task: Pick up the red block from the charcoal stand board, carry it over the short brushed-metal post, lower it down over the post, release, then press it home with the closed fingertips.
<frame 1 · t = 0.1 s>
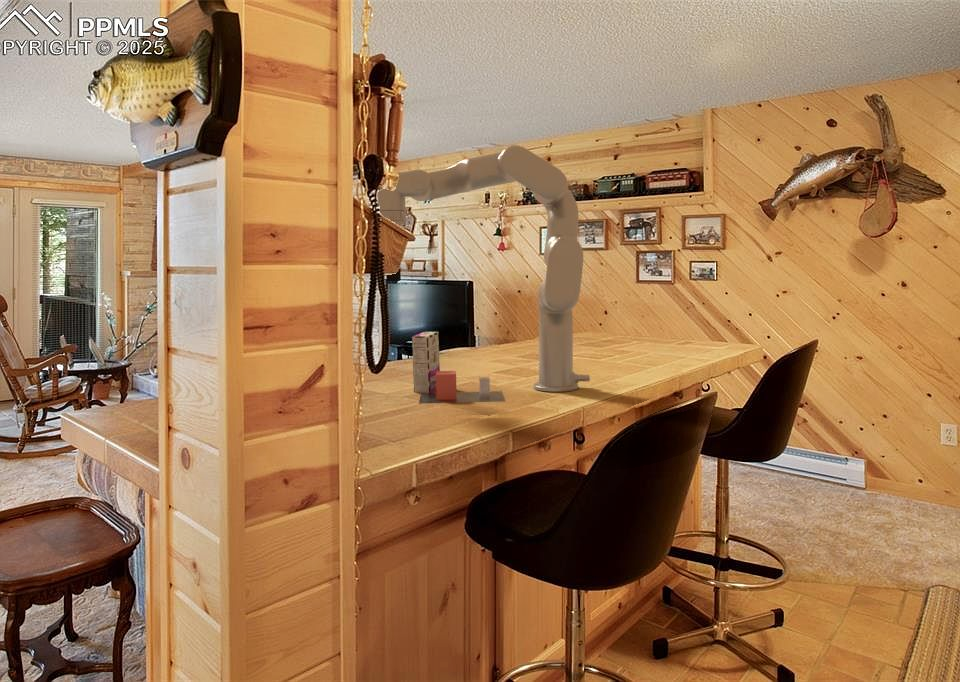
hand: (393, 281, 179), 31 cm above the countertop, fingers open, 9 cm apart
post: (484, 399, 171), on the countertop
candy bar box: (427, 392, 184), on the countertop
red block: (446, 397, 171), point 1 cm above the countertop, touching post
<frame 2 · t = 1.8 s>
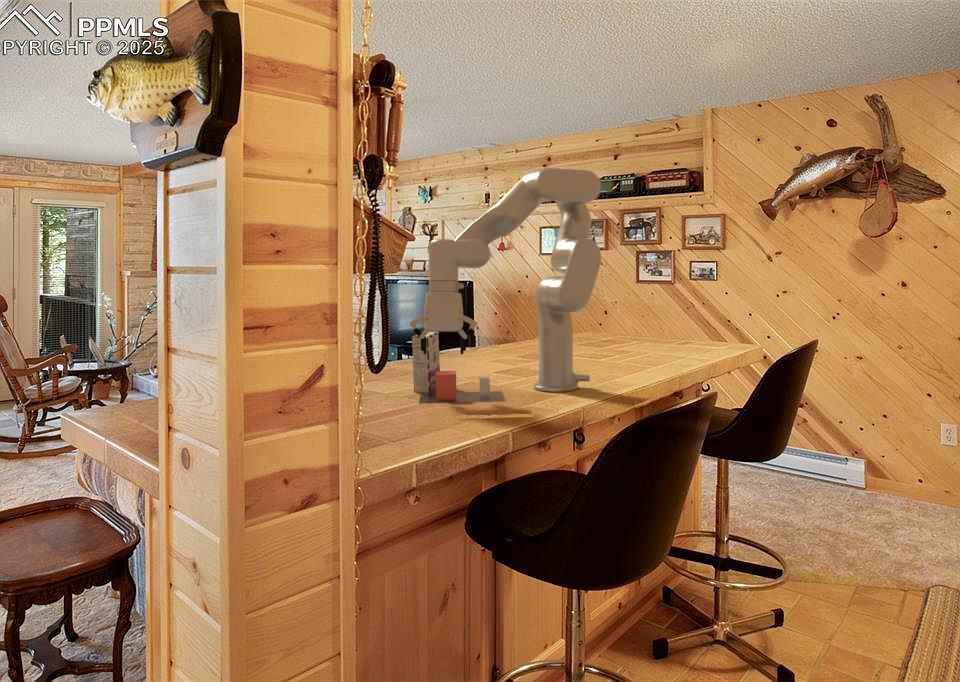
hand: (443, 353, 169), 12 cm above the countertop, fingers open, 9 cm apart
nothing on the countertop moved.
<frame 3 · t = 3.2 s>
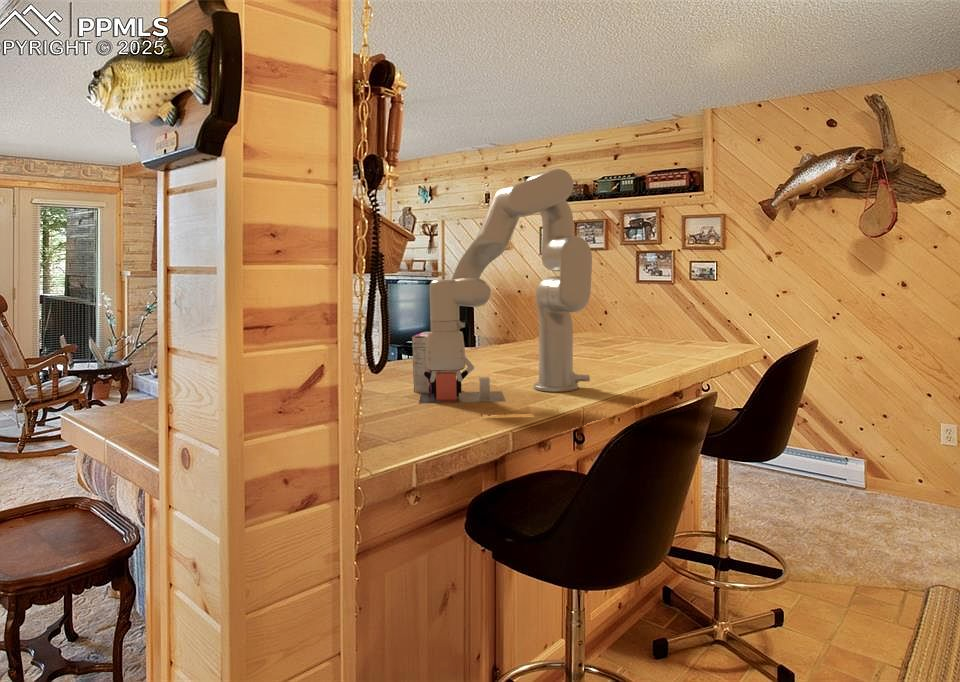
hand: (446, 395, 171), 1 cm above the countertop, fingers closed on red block, 5 cm apart
red block: (446, 397, 171), point 1 cm above the countertop, touching gripper, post
everything else where it was.
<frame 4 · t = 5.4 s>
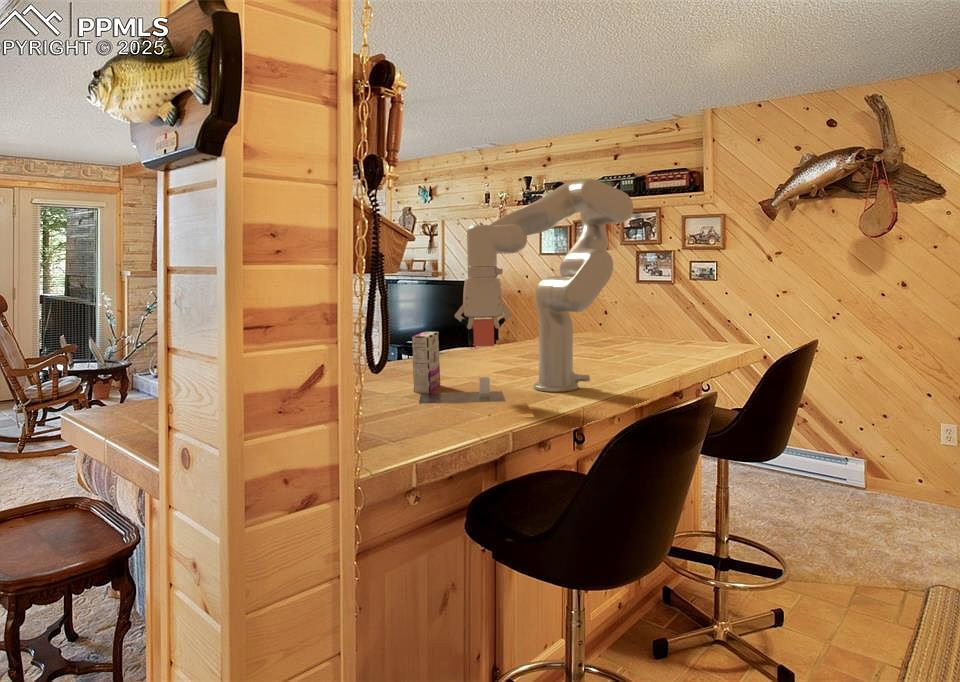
hand: (483, 342, 170), 15 cm above the countertop, fingers closed on red block, 5 cm apart
red block: (483, 344, 170), point 14 cm above the countertop, touching gripper
everything else where it was.
when the fingers open (3 cm above the countertop, at t = 7.6 s): red block drops 1 cm, resting on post.
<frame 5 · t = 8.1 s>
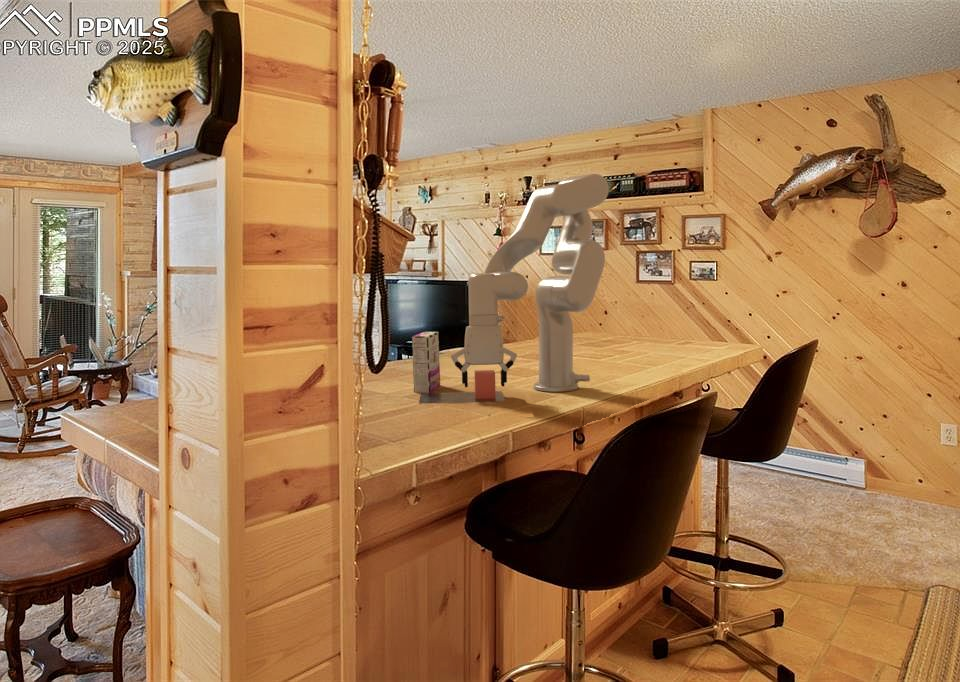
hand: (484, 386, 171), 4 cm above the countertop, fingers open, 9 cm apart
red block: (485, 396, 171), point 1 cm above the countertop, touching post
everything else where it was.
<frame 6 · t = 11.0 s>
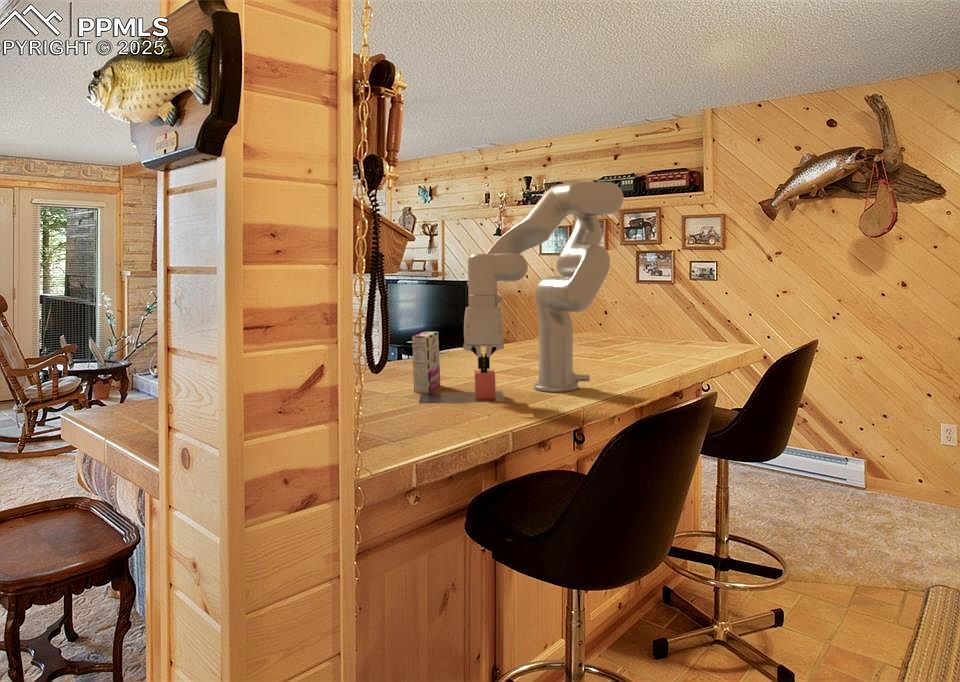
hand: (483, 371, 170), 7 cm above the countertop, fingers closed
red block: (485, 396, 171), point 1 cm above the countertop, touching gripper, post
everything else where it was.
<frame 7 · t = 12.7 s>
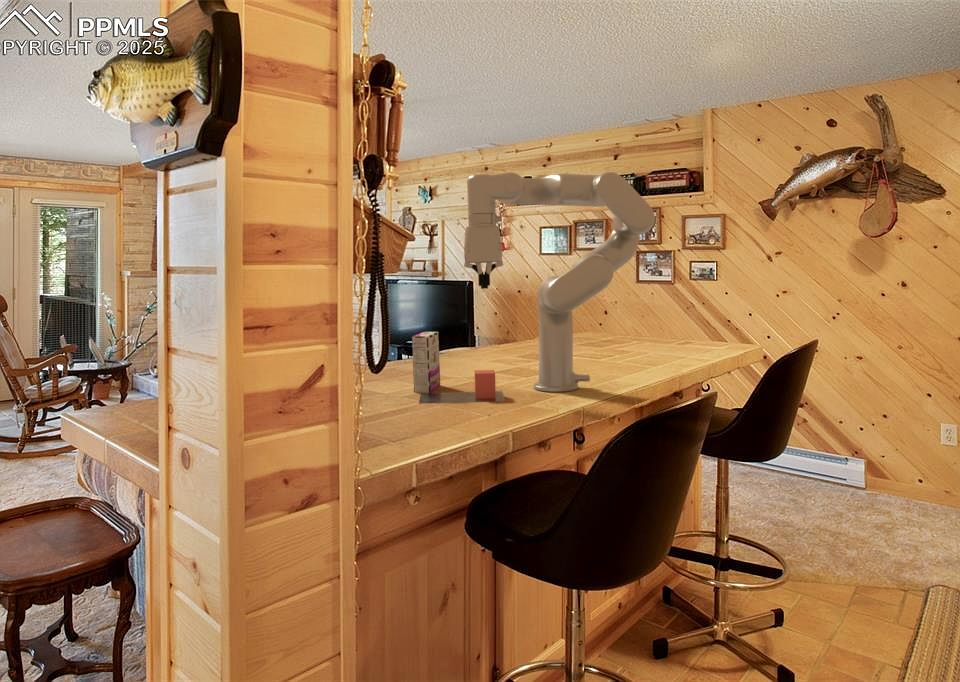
hand: (484, 288, 180), 29 cm above the countertop, fingers closed
red block: (485, 396, 171), point 1 cm above the countertop, touching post
everything else where it was.
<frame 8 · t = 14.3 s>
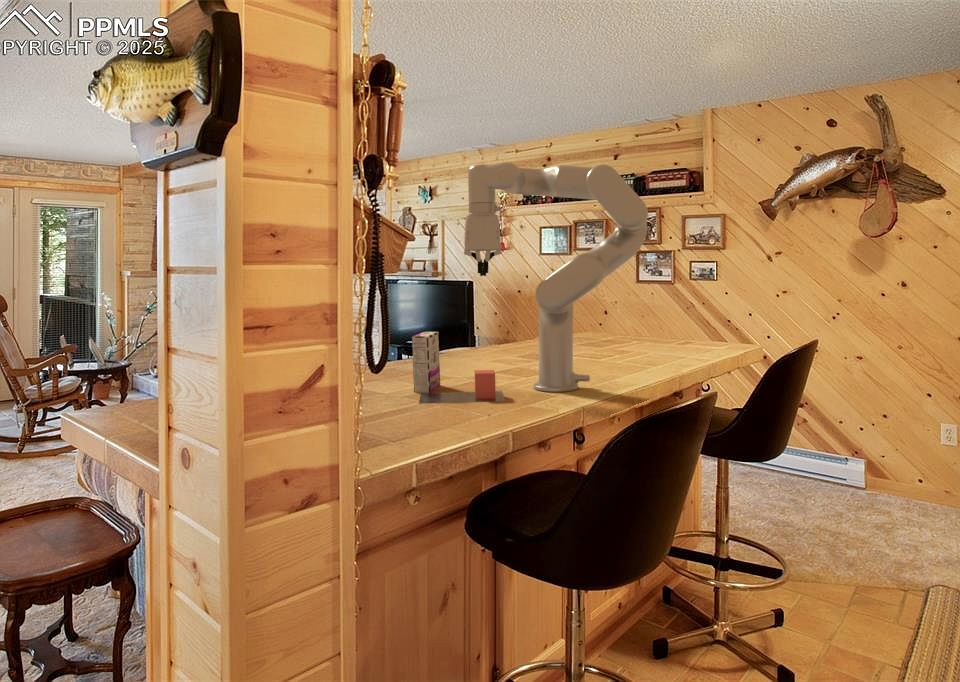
hand: (483, 275, 185), 32 cm above the countertop, fingers closed
nothing on the countertop moved.
at the end: red block 0.1 cm from the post (horizontally); red block point 0.8 cm above the countertop; the gripper is holding nothing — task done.
